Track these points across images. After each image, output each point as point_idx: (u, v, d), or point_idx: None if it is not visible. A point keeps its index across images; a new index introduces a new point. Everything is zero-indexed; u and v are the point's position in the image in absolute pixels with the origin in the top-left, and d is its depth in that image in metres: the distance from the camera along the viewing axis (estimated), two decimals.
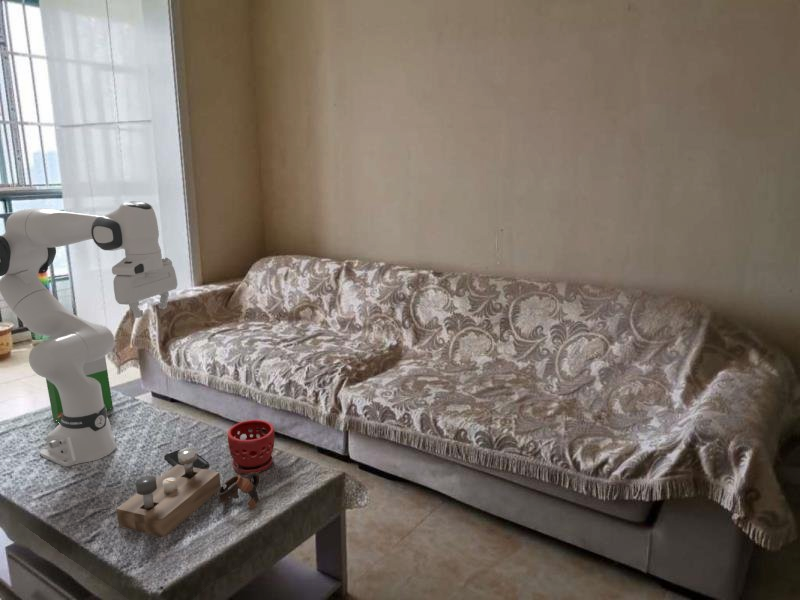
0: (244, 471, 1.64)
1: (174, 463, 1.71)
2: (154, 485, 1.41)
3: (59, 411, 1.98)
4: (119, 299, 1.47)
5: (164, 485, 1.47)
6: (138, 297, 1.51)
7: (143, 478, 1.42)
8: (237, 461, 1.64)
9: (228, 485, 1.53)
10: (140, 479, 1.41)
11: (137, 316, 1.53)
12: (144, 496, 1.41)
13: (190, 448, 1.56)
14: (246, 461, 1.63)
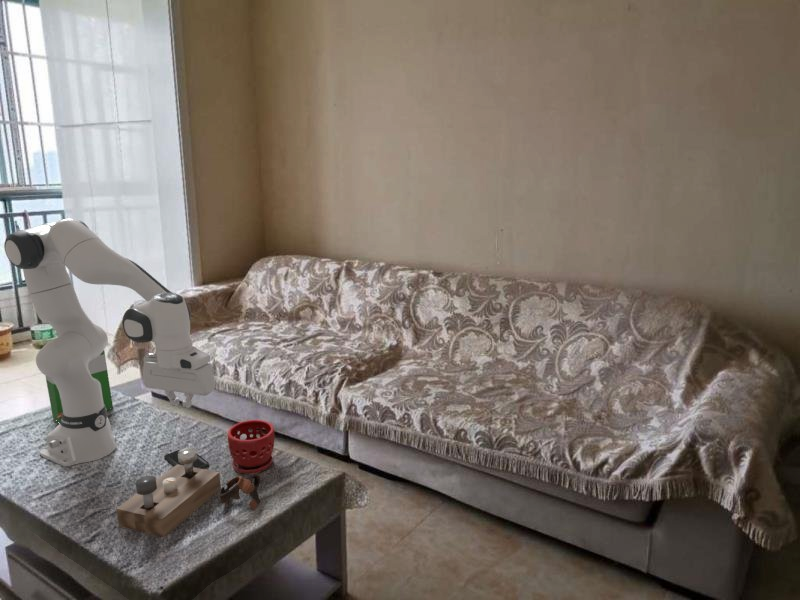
0: (244, 471, 1.64)
1: (174, 463, 1.71)
2: (154, 485, 1.41)
3: (59, 411, 1.98)
4: (209, 389, 1.46)
5: (164, 485, 1.47)
6: None
7: (143, 478, 1.42)
8: (237, 461, 1.64)
9: (229, 486, 1.53)
10: (140, 479, 1.41)
11: (190, 405, 1.51)
12: (144, 496, 1.41)
13: (190, 448, 1.56)
14: (246, 461, 1.63)
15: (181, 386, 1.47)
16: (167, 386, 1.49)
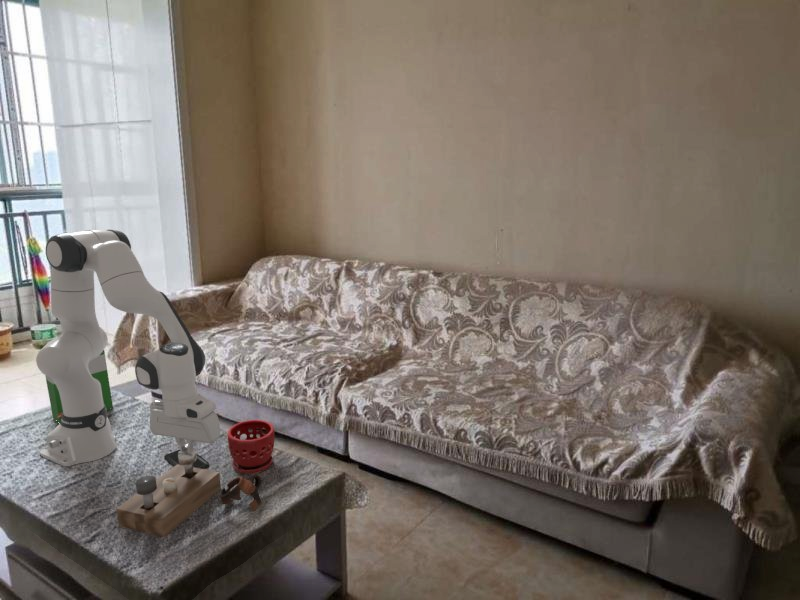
0: (244, 471, 1.64)
1: (174, 463, 1.71)
2: (154, 485, 1.41)
3: (59, 411, 1.98)
4: (215, 437, 1.49)
5: (164, 485, 1.47)
6: None
7: (143, 478, 1.42)
8: (237, 461, 1.64)
9: (230, 487, 1.52)
10: (140, 479, 1.41)
11: (192, 451, 1.54)
12: (144, 496, 1.41)
13: None
14: (246, 461, 1.63)
15: (187, 433, 1.50)
16: (173, 433, 1.52)
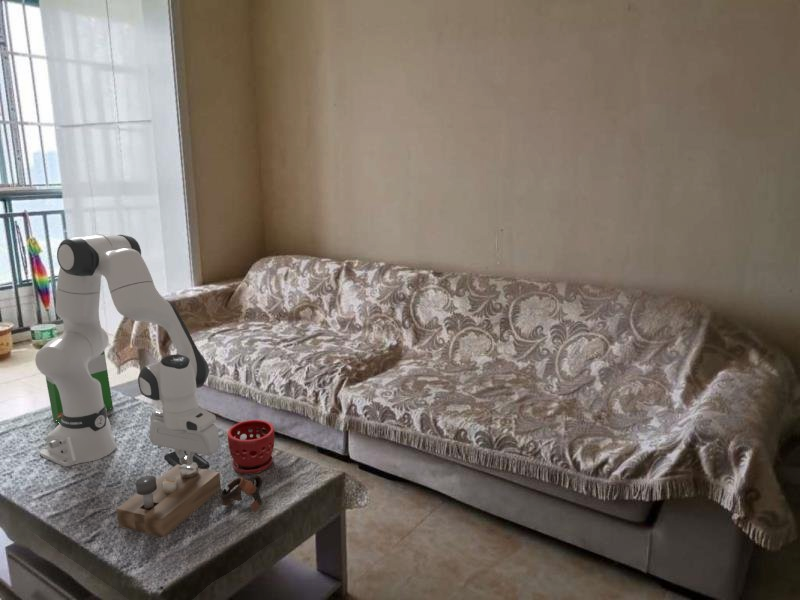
0: (244, 471, 1.64)
1: (174, 463, 1.71)
2: (154, 485, 1.41)
3: (59, 411, 1.98)
4: (214, 449, 1.50)
5: (164, 485, 1.47)
6: None
7: (143, 478, 1.42)
8: (237, 461, 1.64)
9: (231, 487, 1.52)
10: (140, 479, 1.41)
11: (191, 462, 1.55)
12: (144, 496, 1.41)
13: None
14: (246, 461, 1.63)
15: (187, 445, 1.51)
16: (173, 445, 1.53)
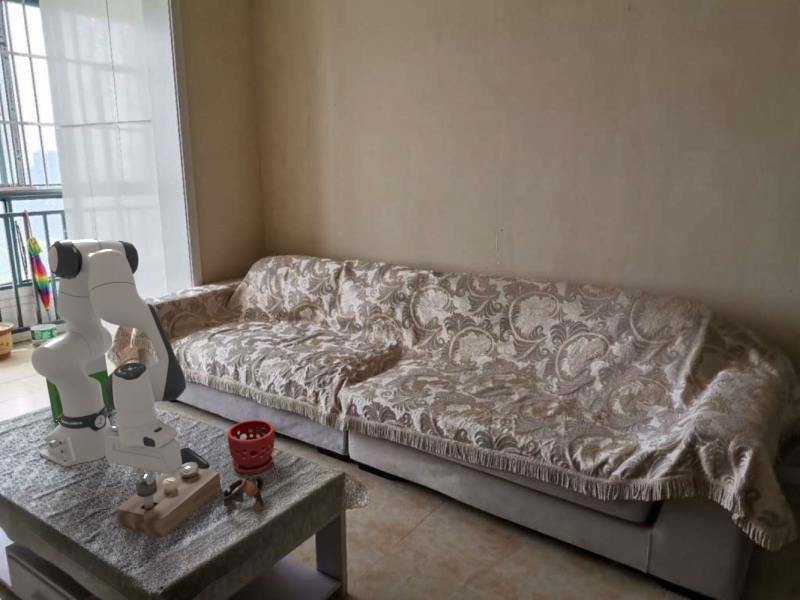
0: (244, 471, 1.64)
1: None
2: (154, 487, 1.41)
3: (59, 411, 1.98)
4: (176, 467, 1.36)
5: (164, 485, 1.47)
6: None
7: None
8: (237, 461, 1.64)
9: (232, 489, 1.51)
10: None
11: (151, 481, 1.41)
12: (144, 498, 1.41)
13: (192, 462, 1.57)
14: (246, 461, 1.63)
15: (146, 463, 1.37)
16: (131, 463, 1.39)
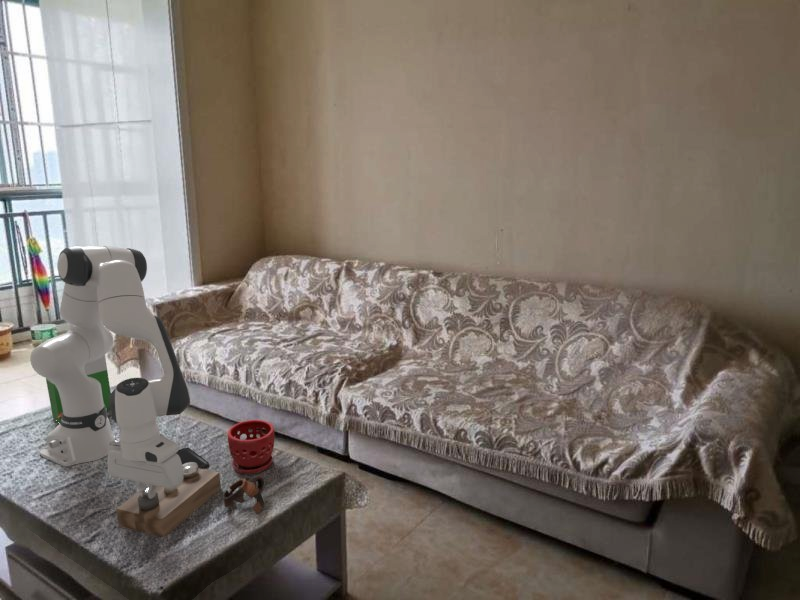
0: (244, 471, 1.64)
1: None
2: (156, 501, 1.42)
3: (59, 411, 1.98)
4: (177, 481, 1.37)
5: None
6: None
7: None
8: (237, 461, 1.64)
9: (233, 489, 1.51)
10: None
11: (153, 495, 1.42)
12: None
13: (192, 462, 1.57)
14: (246, 461, 1.63)
15: (147, 478, 1.38)
16: (133, 477, 1.39)
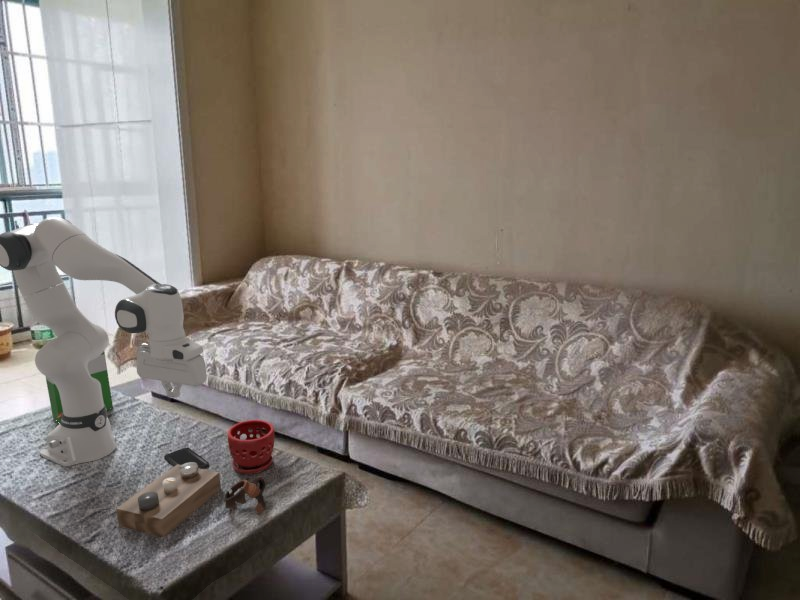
0: (244, 471, 1.64)
1: (174, 463, 1.71)
2: (156, 501, 1.42)
3: (59, 411, 1.98)
4: (201, 380, 1.47)
5: (164, 485, 1.47)
6: None
7: (145, 494, 1.43)
8: (237, 461, 1.64)
9: (234, 490, 1.51)
10: (142, 495, 1.42)
11: (178, 395, 1.52)
12: None
13: (192, 462, 1.57)
14: (246, 461, 1.63)
15: (173, 376, 1.49)
16: (160, 376, 1.50)
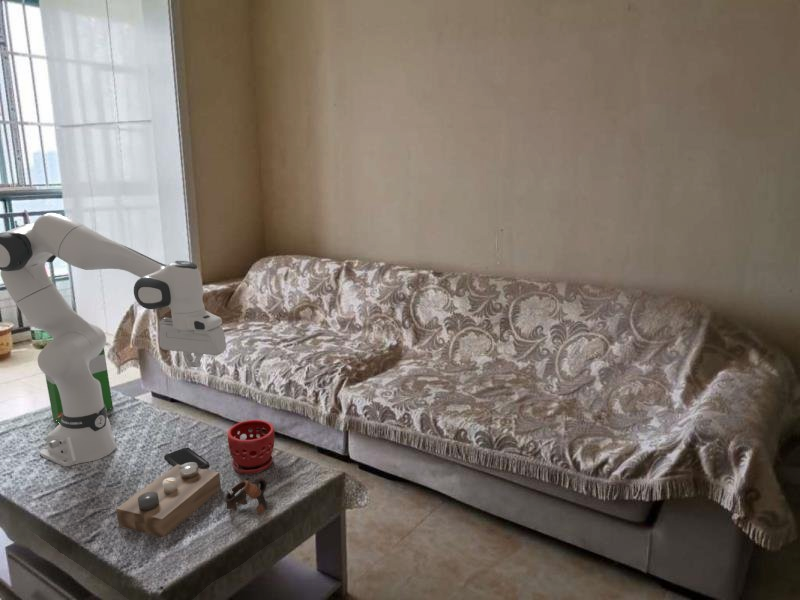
0: (244, 471, 1.64)
1: (174, 463, 1.71)
2: (156, 501, 1.42)
3: (59, 411, 1.98)
4: (221, 349, 1.58)
5: (164, 485, 1.47)
6: None
7: (145, 494, 1.43)
8: (237, 461, 1.64)
9: (235, 491, 1.50)
10: (142, 495, 1.42)
11: (199, 365, 1.63)
12: None
13: (192, 462, 1.57)
14: (246, 461, 1.63)
15: (195, 347, 1.59)
16: (182, 347, 1.60)
